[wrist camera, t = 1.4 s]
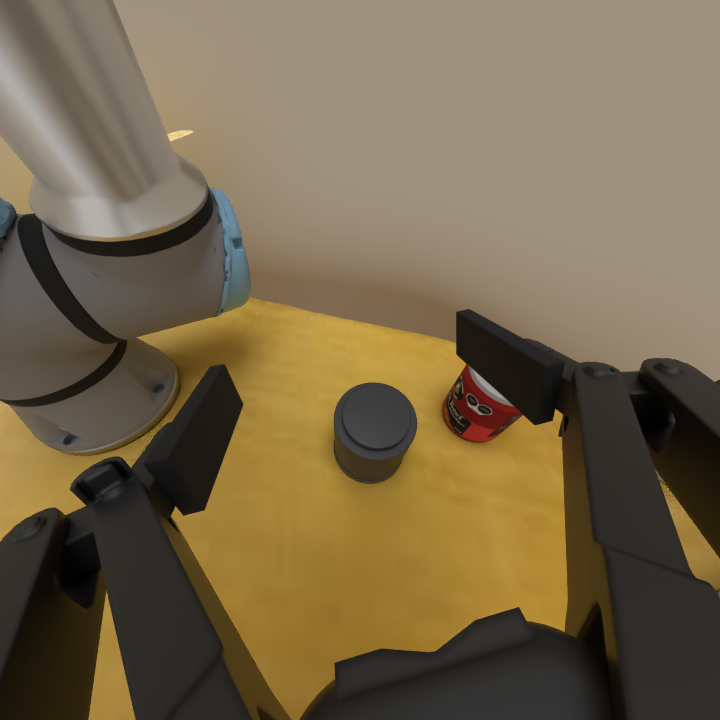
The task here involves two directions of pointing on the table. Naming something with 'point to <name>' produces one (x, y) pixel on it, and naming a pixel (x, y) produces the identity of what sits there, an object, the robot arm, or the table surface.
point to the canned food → (477, 408)
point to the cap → (373, 431)
